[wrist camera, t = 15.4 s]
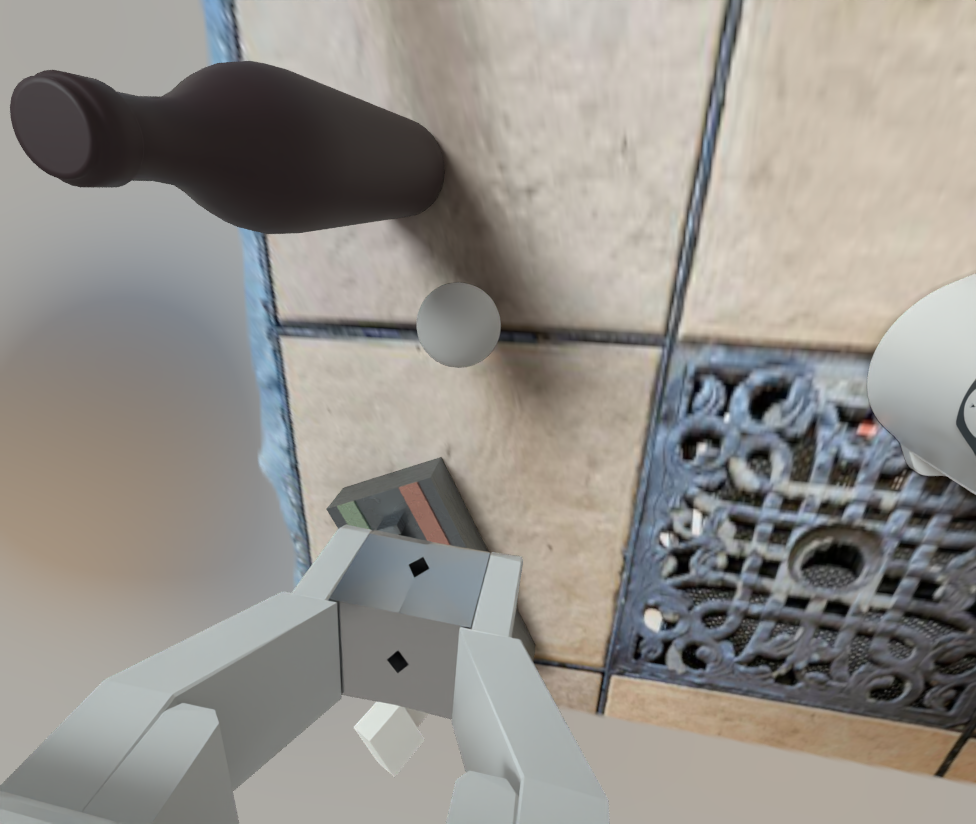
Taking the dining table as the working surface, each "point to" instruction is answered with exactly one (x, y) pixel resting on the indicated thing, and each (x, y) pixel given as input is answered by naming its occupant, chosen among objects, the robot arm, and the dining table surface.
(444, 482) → the breaker box
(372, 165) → the wine bottle
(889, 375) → the robot arm
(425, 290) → the dining table surface
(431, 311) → the lightbulb
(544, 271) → the dining table surface
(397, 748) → the on lever
